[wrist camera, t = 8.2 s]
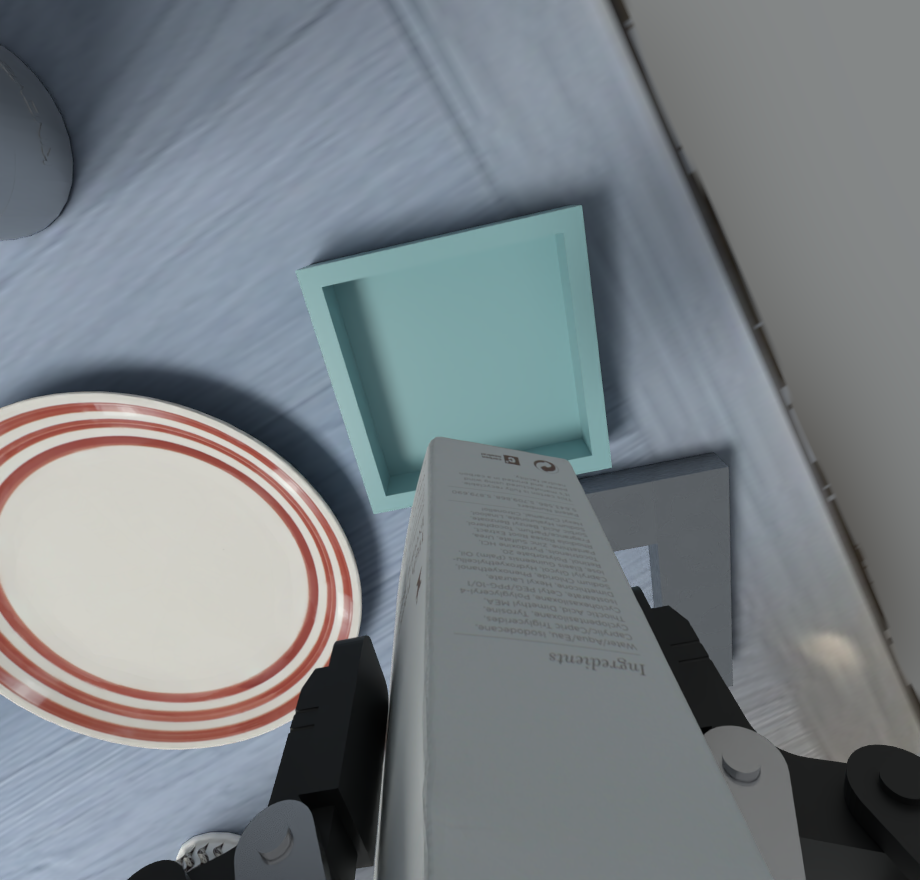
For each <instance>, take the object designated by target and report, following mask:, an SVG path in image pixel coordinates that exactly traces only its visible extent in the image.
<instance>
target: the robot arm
mask: <svg viewBox="0 0 920 880" xmlns="http://www.w3.org/2000/svg"><path fill="white" fill-rule="evenodd" d="M72 176H73V158H72V152H71V145H70V139H69V136H68V133H67V130H66V128H65V125H64V122H63V119H62V116H61V114H60V112H59V111H58V109H57V107H56V105H55V103H54V101H53V99H52V98H51V96H50V94H49V93H48V91H47V90H46V89H45V87H44V86H43V85H42V83H41V82H40V81H39V79H38V78H37V77H36V76H35V74H34V73H33V72H32V71H31V70H30V69H29V68H28V67H27V66H26V65H25V64H24V63H23V62H22V61H21V60H20V59H19V58H18V57H16V56H15V55H14V54H13V53H11V52H10V51H9V50H7V49H6V48H4V47H3V46H1V45H0V241H3V240H15V239H19V238H23V237H28V236H32V235H33V234H35V233H37V232H39V231H41V230H43V229H45V228H46V227H47V226H48V225H49V224H50V223H52V222H53V221H54V220H55V219H56V218H57V217H58V216H59V214H60V212H61V210H62V209H63V207H64V205H65V203H66V202H67V199H68V196H69V192H70V189H71V185H72ZM631 589H632V591H633V593H634V595H635V597H636V599H637V601H638V603H639V605H640V607H641V609H642V611H643V613H644V615H645V617H646V619H647V621H648V623H649V625H650V627H651V629H652V631H653V633H654V636H655V638H656V640H657V642H658V644H659V646H660V648H661V650H662V652H663V654H664V656H665V658H666V660H667V663H668V665H669V667H670V669H671V671H672V673H673V675H674V677H675V679H676V681H677V683H678V685H679V687H680V689H681V691H682V693H683V695H684V697H685V699H686V701H687V703H688V705H689V707H690V709H691V711H692V713H693V715H694V717H695V719H696V721H697V723H698V725H699V727H700V729H701V731H702V733H703V735H704V737H705V739H706V742H707V744H708V746H709V748H710V750H711V752H712V754H713V756H714V758H715V760H716V762H717V764H718V766H719V769H720V771H721V773H722V775H723V777H724V779H725V781H726V783H727V785H728V787H729V789H730V790H731V792H732V794H733V796H734V798H735V800H736V802H737V804H738V807H739V809H740V811H741V813H742V815H743V817H744V819H745V821H746V823H747V825H748V827H749V829H750V832H751V834H752V836H753V838H754V840H755V842H756V844H757V846H758V848H759V850H760V852H761V854H762V856H763V858H764V860H765V863H766V865H767V867H768V869H769V871H770V873H771V875H772V877H773V879H774V880H920V757H919V756H917V755H915V754H913V753H911V752H908V751H906V750H903V749H900V748H897V747H893V746H887V745H868V746H864V747H861V748H859V749H857V750H856V751H854V752H853V753H852V754H851V756H850V757H849V759H848V762H847V763H841V762H834V761H827V760H820V759H813V758H807V757H802V756H797V755H794V754H791V753H788V752H786V751H784V750H781V749H779V748H777V747H776V746H775V745H774V744H772V743H771V742H770V741H769V740H768V739H766V738H765V737H763V736H762V735H760V734H758V733H757V732H756V731H755V730H754V729H753V728H752V726H751V725H750V724H749V722H748V721H747V719H746V717H745V716H744V714H743V712H742V711H741V709H740V707H739V706H738V704H737V702H736V701H735V699H734V697H733V695H732V694H731V692H730V690H729V689H728V687H727V685H726V684H725V682H724V680H723V679H722V677H721V675H720V674H719V672H718V670H717V668H716V667H715V665H714V663H713V662H712V660H710V658H709V655H708V653H707V652H706V650H705V648H704V647H703V645H702V644H701V643H700V640H699V638H698V636H697V635H696V633H695V631H694V630H693V628H692V626H691V625H690V623H689V621H688V620H687V619H686V618H684V617H683V616H682V615H680V614H679V613H678V612H677V611H675V610H674V609H673V608H671V607H670V606H669V605H668V606H662V607H657V608H651V607H650V605H649V603H648V602H647V600H646V598H645V596H644V594H643V592H642V590H641V589H640V587H638V586H636V587H631ZM295 712H296V713H295V715H294V716H293V720H292V724H291V727H290V733H289V734H288V738H287V741H286V745H285V748H284V752H283V755H282V759H281V763H280V766H279V770H278V773H277V777H276V780H275V784H274V787H273V791H272V795H271V798H270V801H269V804H268V807H267V808H266V809H264V810H263V811H261V812H260V813H259V814H258V815H257V816H256V817H255V818H254V819H253V820H252V821H251V822H250V823H249V824H248V826H247V827H246V829H245V830H244V832H243V833H242V835H241V837H240V839H239V841H238V844H237V845H236V846H235V847H234V848H232V849H231V850H229V851H227V852H225V853H224V854H222V855H220V856H218V857H216V858H214V859H212V860H210V861H208V862H206V863H204V864H202V865H200V866H198V867H196V868H194V869H192V870H191V871H189V872H187V873H186V872H185V870H184V869H183V867H182V866H181V865H180V864H179V863H177V862H175V861H172V860H161V861H157V862H154V863H152V864H149V865H147V866H145V867H144V868H142V869H140V870H139V871H138V872H136V873H135V874H133V875H132V876H131V877H130V878H129V879H128V880H355V872H356V868H362V867H369V866H373V865H374V855H375V845H376V835H377V825H378V814H379V804H380V794H381V784H382V774H383V763H384V753H385V743H386V733H387V722H388V712H389V698H388V690H387V685H386V681H385V678H384V675H383V672H382V670H381V667H380V664H379V661H378V658H377V656H376V653H375V650H374V647H373V644H372V642H371V639H370V637H369V636H368V635H365V636H360V637H355V638H349V639H344V640H338V641H336V642H335V643H334V645H333V649H332V653H331V657H330V662H329V666H327V667H322V668H316V669H315V670H314V671H313V673H312V674H311V676H310V677H309V678H308V680H307V681H306V683H305V684H304V686H303V687H302V689H301V692H300V695H299V699H298V702H297V706H296V709H295Z"/></svg>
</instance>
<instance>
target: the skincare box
mask: <svg viewBox="0 0 920 880" xmlns="http://www.w3.org/2000/svg"><path fill="white" fill-rule="evenodd" d="M374 880H774V879H773V877H772V875H771V873H770V871H769V869H768V867H767V865H766V863H765V860H764V858H763V856H762V854H761V852H760V850H759V848H758V846H757V844H756V842H755V840H754V838H753V836H752V834H751V832H750V829H749V827H748V825H747V823H746V821H745V819H744V817H743V815H742V813H741V811H740V809H739V807H738V804H737V802H736V800H735V798H734V796H733V794H732V792H731V790H730V789H729V787H728V785H727V783H726V781H725V779H724V777H723V775H722V773H721V771H720V769H719V766H718V764H717V762H716V760H715V758H714V756H713V754H712V752H711V750H710V748H709V746H708V744H707V742H706V739H705V737H704V735H703V733H702V731H701V729H700V727H699V725H698V723H697V721H696V719H695V717H694V715H693V713H692V711H691V709H690V707H689V705H688V703H687V701H686V699H685V697H684V695H683V693H682V691H681V689H680V687H679V685H678V683H677V681H676V679H675V677H674V675H673V673H672V671H671V669H670V667H669V665H668V663H667V660H666V658H665V656H664V654H663V652H662V650H661V648H660V646H659V644H658V642H657V640H656V638H655V636H654V633H653V631H652V629H651V627H650V625H649V623H648V621H647V619H646V617H645V615H644V613H643V611H642V609H641V607H640V605H639V603H638V601H637V599H636V597H635V595H634V593H633V591H632V589H631V587H630V585H629V583H628V580H627V578H626V576H625V574H624V572H623V570H622V568H621V566H620V564H619V562H618V560H617V558H616V556H615V554H614V552H613V550H612V548H611V545H610V543H609V541H608V539H607V537H606V535H605V533H604V531H603V529H602V527H601V525H600V523H599V521H598V518H597V516H596V514H595V512H594V511H593V509H592V506H591V504H590V502H589V500H588V498H587V497H586V495H585V492H584V490H583V488H582V486H581V484H580V482H579V480H578V478H577V476H576V474H575V471H574V469H573V468H572V466H571V464H570V462H569V461H567V460H565V459H562V458H556V457H550V456H544V455H539V454H534V453H529V452H525V451H519V450H513V449H508V448H502V447H496V446H492V445H486V444H480V443H475V442H469V441H462V440H457V439H451V438H446V437H435V438H434V439H433V440H431V441H430V443H429V445H428V447H427V450H426V454H425V458H424V461H423V465H422V469H421V473H420V476H419V480H418V484H417V488H416V492H415V497H414V501H413V505H412V510H411V515H410V520H409V525H408V530H407V536H406V542H405V547H404V554H403V560H402V566H401V572H400V580H399V587H398V595H397V606H396V619H395V629H394V642H393V654H392V666H391V678H390V690H389V712H388V722H387V733H386V743H385V753H384V763H383V774H382V785H381V797H380V809H379V823H378V835H377V846H376V858H375V870H374Z"/></svg>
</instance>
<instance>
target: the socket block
mask: <svg viewBox="0 0 920 880" xmlns="http://www.w3.org/2000/svg"><path fill="white" fill-rule="evenodd" d="M578 480H579V482H580V484H581V486H582V488H583V490H584V492H585V495H586V497H587V498H588V500H589V502H590V504H591V506H592V509H593V511H594V512H595V514H596V516H597V518H598V521H599V523H600V525H601V527H602V529H603V531H604V533H605V535H606V537H607V539H608V541H609V543H610V545H611V548H612V550H613V552H614V551H619V550H625V549H630V548H636V547H641V546H646V545H649V555H650V566H651V577H652V588H653V600H654V608H657V607H662V606H668V605H669V606H670V607H671V608H673V609H674V610H675V611H677V612H678V613H679V614H680V615H682V616H683V617H684V618H686V619H687V620H688V621H689V623H690V625H691V626H692V628H693V630H694V631H695V633H696V635H697V636H698V638H699V640H700V643H701V644H702V645H703V647H704V648H705V650H706V652H707V653H708V655H709V658H710V660H712V662H713V663H714V665H715V667H716V668H717V670H718V672H719V674H720V675H721V677H722V679H723V680H724V682H725V684H726V685H727V687H729V686H733V675H732V619H731V562H730V506H729V466H727V465H726V464H725V463H724V462H723V461H722V460H721V459H720V458H719V457H718V456H717V455H716V454H715V453H709V454H704V455H699V456H694V457H689V458H683V459H678V460H673V461H668V462H663V463H658V464H653V465H648V466H642V467H637V468H632V469H627V470H622V471H617V472H612V473H606V474H601V475H596V476H591V477H586V478H581V479H578Z"/></svg>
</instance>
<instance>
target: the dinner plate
mask: <svg viewBox="0 0 920 880" xmlns="http://www.w3.org/2000/svg"><path fill="white" fill-rule="evenodd" d="M361 615H362V590H361V582H360V576H359V572H358V568H357V564H356V560H355V557H354V554H353V551H352V548H351V546H350V544H349V541H348V539H347V537H346V535H345V533H344V531H343V529H342V527H341V525H340V523H339V521H338V520H337V518H336V517H335V515H334V513H333V512H332V510H331V509H330V507H329V506H328V505H327V503H326V502H325V501H324V499H323V498H322V497H321V495H320V494H319V493H318V492H317V491H316V490H315V489H314V487H313V486H312V485H311V484H310V483H309V482H308V481H307V479H306V478H305V477H304V476H303V475H302V474H301V473H300V472H299V471H297V470H296V469H295V468H294V467H293V466H292V465H291V464H290V463H289V462H287V461H286V460H285V459H284V458H282V457H281V456H280V455H279V454H277V453H276V452H275V451H273V450H272V449H271V448H269V447H268V446H267V445H265V444H264V443H262V442H260V441H259V440H257V439H256V438H254V437H252V436H251V435H249V434H247V433H246V432H244V431H242V430H239V429H238V428H236V427H234V426H233V425H231V424H229V423H227V422H225V421H222V420H220V419H217V418H215V417H212V416H210V415H208V414H205V413H203V412H200V411H198V410H195V409H192V408H189V407H185V406H182V405H179V404H176V403H172V402H168V401H164V400H160V399H156V398H151V397H146V396H140V395H133V394H125V393H115V392H102V391H94V392H68V393H57V394H50V395H44V396H39V397H34V398H30V399H26V400H22V401H19V402H16V403H13V404H10V405H7V406H5V407H2V408H0V694H1V695H3V696H4V697H6V698H7V699H9V700H10V701H12V702H14V703H15V704H17V705H18V706H20V707H22V708H24V709H26V710H27V711H29V712H31V713H33V714H35V715H37V716H39V717H41V718H43V719H45V720H47V721H50V722H52V723H55V724H57V725H59V726H61V727H64V728H66V729H69V730H72V731H74V732H77V733H80V734H84V735H87V736H90V737H94V738H97V739H101V740H105V741H109V742H113V743H118V744H123V745H129V746H135V747H143V748H151V749H195V748H206V747H215V746H222V745H226V744H231V743H236V742H240V741H243V740H247V739H250V738H253V737H256V736H259V735H262V734H264V733H267V732H269V731H272V730H274V729H276V728H278V727H280V726H282V725H284V724H286V723H287V722H289V721H291V720H293V716H294V715H295V713H296V712H295V709H296V706H297V702H298V699H299V695H300V692H301V689H302V687H303V686H304V684H305V683H306V681H307V680H308V678H309V677H310V676H311V674H312V673H313V671H314V670H315V669H316V668H322V667H327V666H329V662H330V657H331V653H332V649H333V645H334V643H335V642H336V641H338V640H344V639H349V638H355V637H358V634H359V629H360V623H361Z"/></svg>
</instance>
